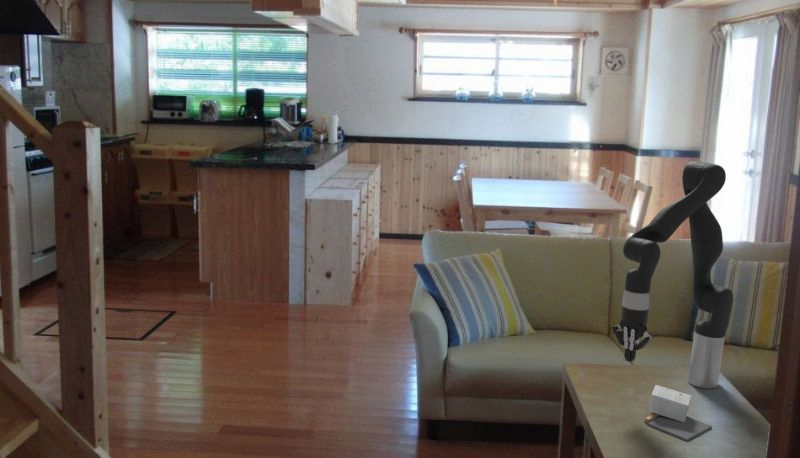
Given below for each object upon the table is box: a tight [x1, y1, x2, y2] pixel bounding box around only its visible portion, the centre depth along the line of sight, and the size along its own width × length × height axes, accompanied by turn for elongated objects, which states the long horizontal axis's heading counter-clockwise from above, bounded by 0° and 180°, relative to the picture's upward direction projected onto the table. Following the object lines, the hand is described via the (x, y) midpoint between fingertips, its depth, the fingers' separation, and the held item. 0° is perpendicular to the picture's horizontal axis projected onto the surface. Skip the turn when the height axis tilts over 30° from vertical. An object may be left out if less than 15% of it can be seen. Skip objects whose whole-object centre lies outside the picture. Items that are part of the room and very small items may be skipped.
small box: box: [647, 384, 692, 423], centre depth 223 cm, size 8×6×10 cm
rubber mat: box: [647, 416, 713, 442], centre depth 218 cm, size 14×12×1 cm
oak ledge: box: [644, 413, 662, 424], centre depth 223 cm, size 12×1×1 cm, turn 132°
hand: (629, 360), depth 228 cm, fingers closed
